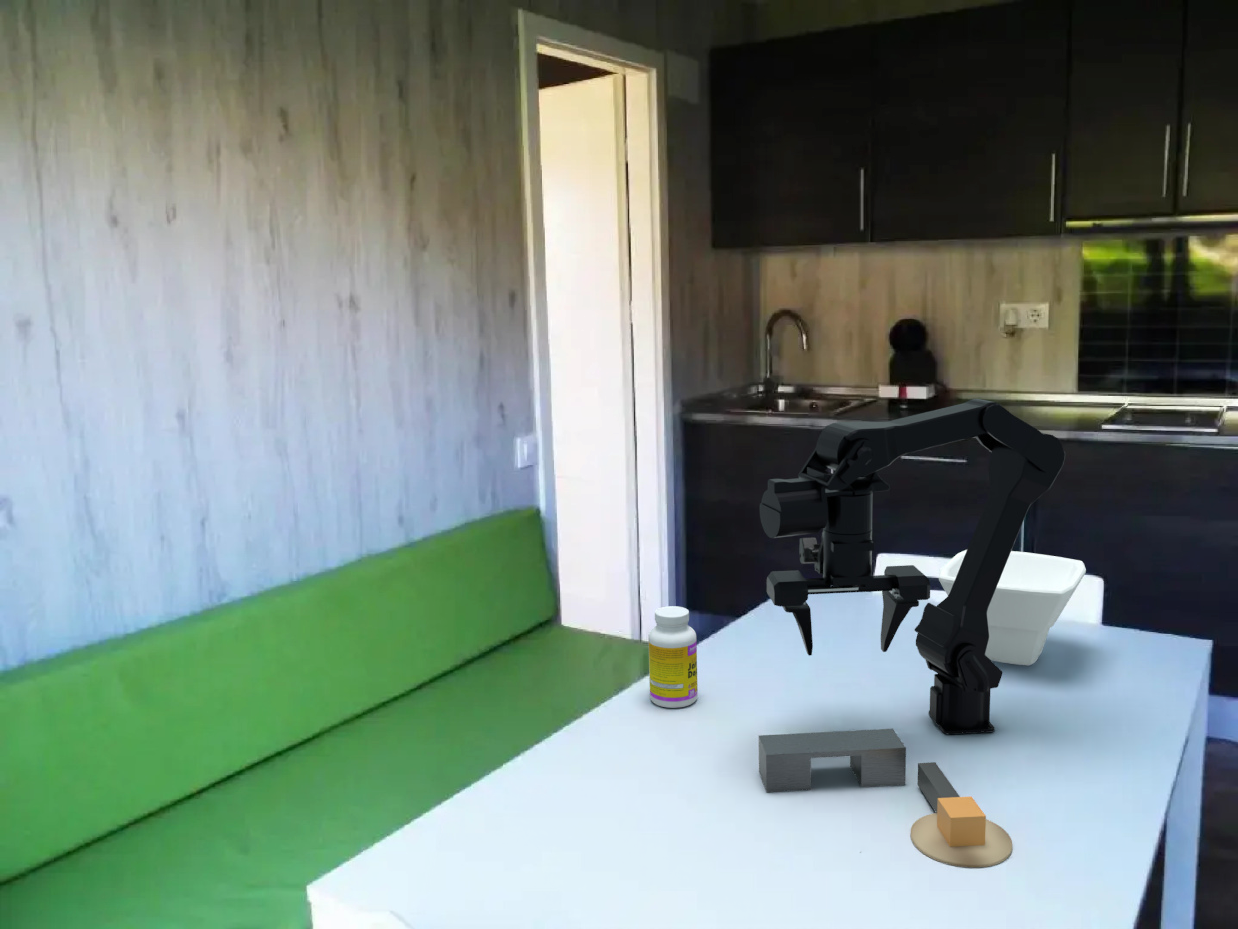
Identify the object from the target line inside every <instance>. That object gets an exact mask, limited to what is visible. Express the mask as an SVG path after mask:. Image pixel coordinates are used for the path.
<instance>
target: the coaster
mask: <svg viewBox="0 0 1238 929" xmlns="http://www.w3.org/2000/svg"><path fill="white" fill-rule="evenodd" d="M909 836H910V840H911V842H912V844H913V846H915V848H916V849H917V850H918V851H920V853H922V854H923V855H925V856H926V857H929V858H930V859H932V860H935V861H937V862H939V863H942V864H946V865H948V866H954V867H960V868H977V869H979V868H980V869H981V868H987V867H992V866H995V865H998V864H1000V863H1002V862H1004V861H1006V859H1008V858H1009V857H1010V856H1011V855H1012V852H1013V841H1012V840H1013V839H1012V838H1011V836H1010V834H1009V833H1008V832H1007V831H1006V830H1005V829H1004V828H1003V827H1001V826H1000V825H998V824H997V823H995V822H994V821H992V820H989V819H987V818H986V829H985V845H974V846H954V847H950V846H949V844H948V843H947V841H946V840H945V838H944V837H943V835H942V833H941V832H940V830H939V829H938V827H937V814H936V812H933V813H930V814H926V815H923V816H922V817H919V818H918V819H916V820H915V821H914V822H913V823H912V825H911V827H910V835H909Z"/></svg>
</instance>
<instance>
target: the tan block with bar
mask: <svg viewBox="0 0 1238 929" xmlns="http://www.w3.org/2000/svg"><path fill="white" fill-rule="evenodd" d="M916 784H917V786H918V787H919V789H920V791H921V792H922V793H923V795H924V797H925V798H926V800H927V801H928V803H929V805H930V806H931V808H932V809H933V811H934V813H936V814H937V827H938V829H939V830H940V832H941V833H942V835H943V837H944V838H945V840H946V841H947V843H948V844H949V846H950V847H954V846H974V845H985V829H986V819H987V815H986V813H984V812H983V810H982V809H981V807H980V806H979V804H978V803H977V801H975V799H974V798H973V796H960V795H959V793H958V791H957V790H956V789H955V787H954V786H953V785H952V783H951V782H950V780H948V778H947V776H946V775H945V774H944V772H943V771H942V769H941V768H940V767H939V766H938V764H937V762H936V761H935V762H933V761H932V762H918V763H917V783H916Z"/></svg>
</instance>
